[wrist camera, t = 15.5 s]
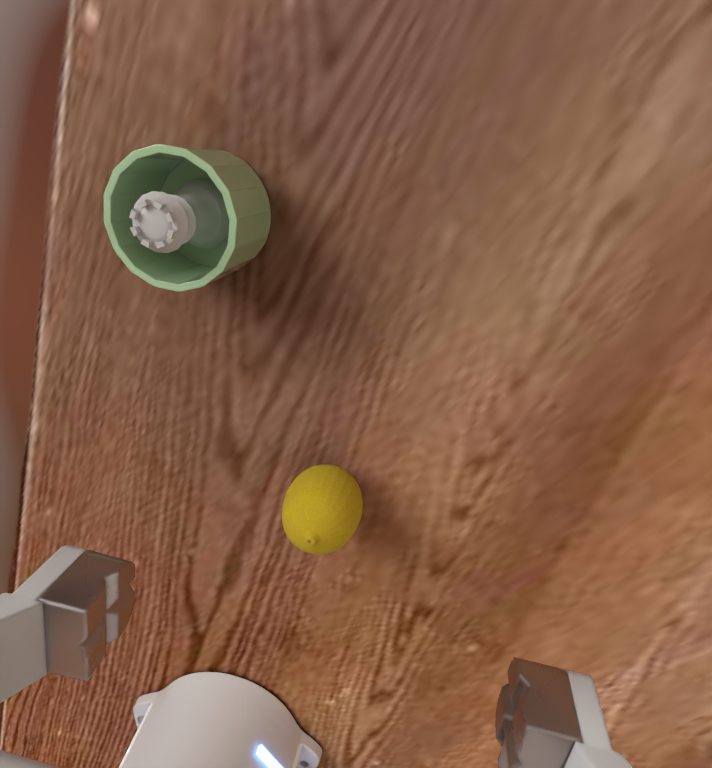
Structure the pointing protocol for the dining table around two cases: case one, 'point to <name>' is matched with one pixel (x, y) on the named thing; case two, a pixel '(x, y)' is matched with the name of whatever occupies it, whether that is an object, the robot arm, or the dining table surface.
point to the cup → (166, 174)
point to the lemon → (322, 509)
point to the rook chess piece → (182, 217)
